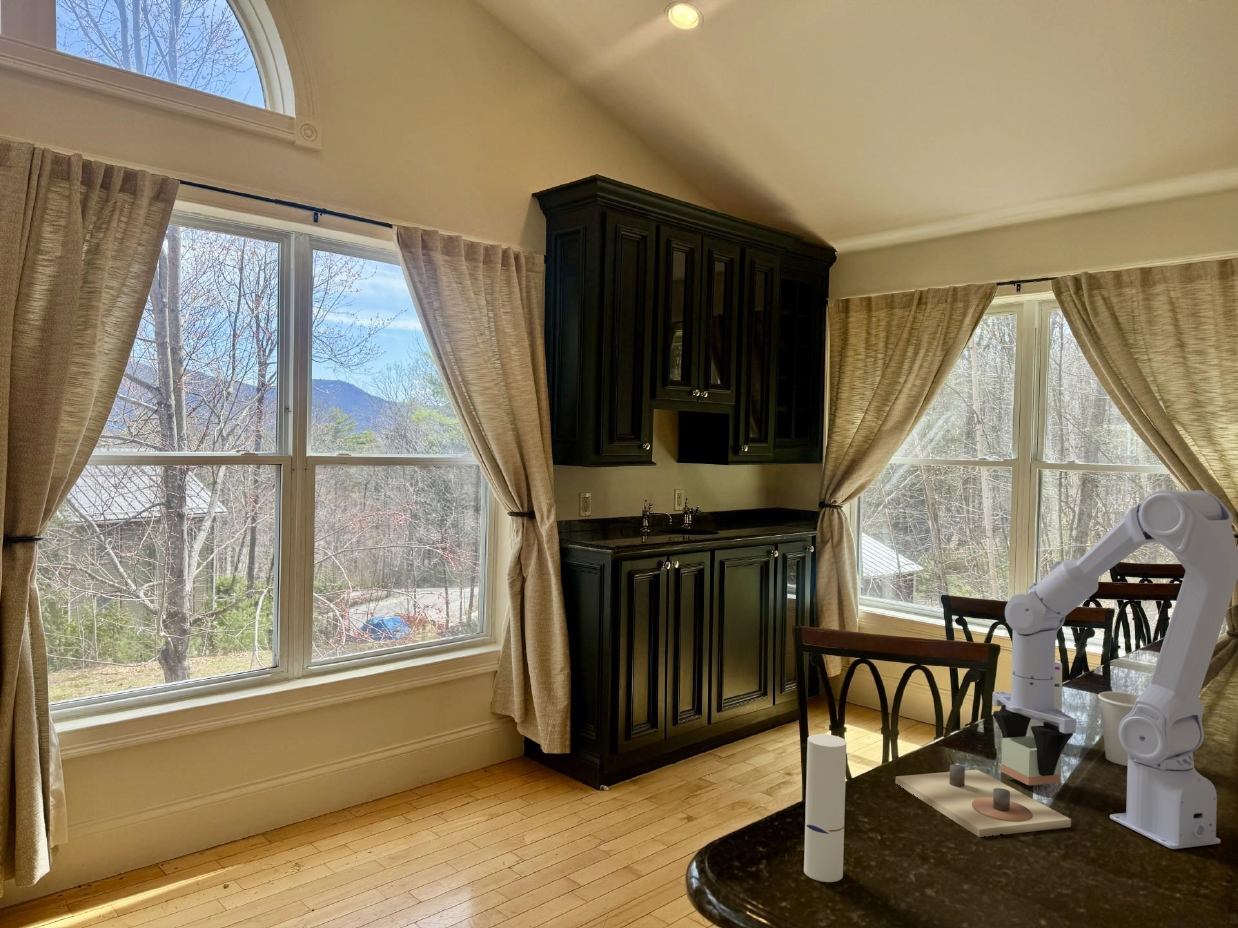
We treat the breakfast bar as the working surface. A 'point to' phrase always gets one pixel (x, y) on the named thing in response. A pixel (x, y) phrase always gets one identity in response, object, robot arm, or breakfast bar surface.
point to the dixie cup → (1115, 722)
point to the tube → (825, 807)
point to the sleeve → (1025, 761)
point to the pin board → (981, 802)
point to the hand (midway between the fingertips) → (1030, 767)
